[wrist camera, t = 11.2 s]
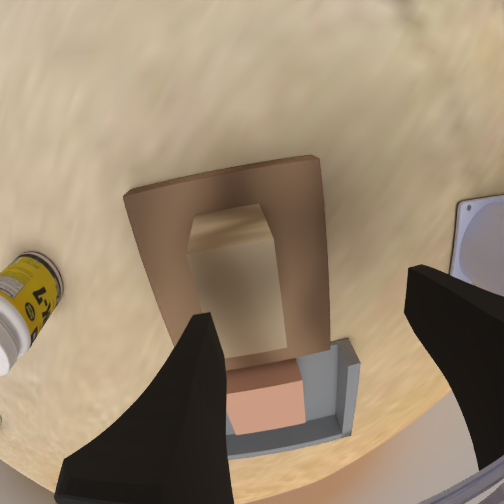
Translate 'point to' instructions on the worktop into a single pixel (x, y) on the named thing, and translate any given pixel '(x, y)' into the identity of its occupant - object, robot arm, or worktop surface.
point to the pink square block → (265, 397)
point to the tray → (310, 406)
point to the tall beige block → (238, 279)
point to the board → (281, 226)
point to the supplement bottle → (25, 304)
